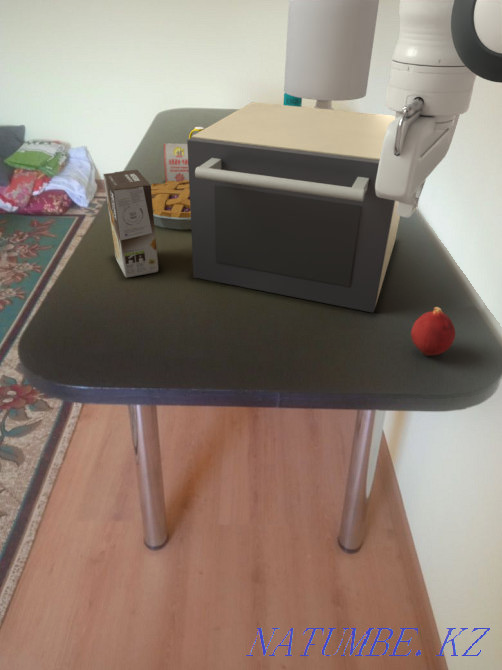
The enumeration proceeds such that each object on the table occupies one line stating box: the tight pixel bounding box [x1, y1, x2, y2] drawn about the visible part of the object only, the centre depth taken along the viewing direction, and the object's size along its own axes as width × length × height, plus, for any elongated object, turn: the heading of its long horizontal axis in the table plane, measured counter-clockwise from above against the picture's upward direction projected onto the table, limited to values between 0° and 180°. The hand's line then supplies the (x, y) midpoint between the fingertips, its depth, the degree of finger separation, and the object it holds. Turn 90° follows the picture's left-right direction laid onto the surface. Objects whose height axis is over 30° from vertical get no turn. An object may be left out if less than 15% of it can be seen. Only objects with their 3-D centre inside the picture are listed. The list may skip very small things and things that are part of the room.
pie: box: [151, 180, 191, 231], centre depth 115 cm, size 22×22×5 cm
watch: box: [188, 126, 205, 139], centre depth 158 cm, size 6×3×6 cm, turn 74°
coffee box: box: [102, 169, 159, 278], centre depth 91 cm, size 9×6×16 cm
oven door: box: [186, 138, 395, 314], centre depth 79 cm, size 7×32×24 cm, turn 70°
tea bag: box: [163, 143, 189, 183], centre depth 129 cm, size 4×7×10 cm, turn 92°
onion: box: [410, 306, 456, 357], centre depth 73 cm, size 6×6×8 cm
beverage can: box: [282, 92, 303, 107], centre depth 166 cm, size 6×6×15 cm
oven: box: [192, 101, 401, 308], centre depth 93 cm, size 28×32×24 cm
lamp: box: [283, 0, 380, 110], centre depth 136 cm, size 22×22×40 cm
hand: (406, 213), depth 64 cm, fingers closed
